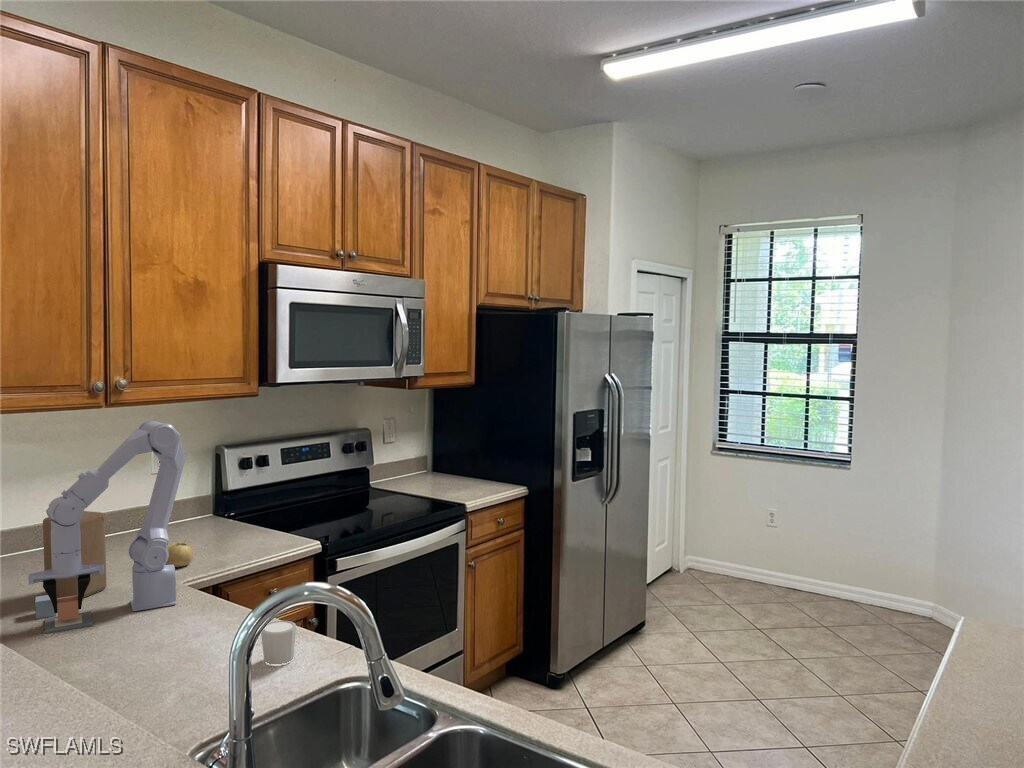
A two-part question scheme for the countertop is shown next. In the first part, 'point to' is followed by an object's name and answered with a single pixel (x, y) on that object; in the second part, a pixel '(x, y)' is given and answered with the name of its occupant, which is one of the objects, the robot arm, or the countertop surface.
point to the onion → (179, 554)
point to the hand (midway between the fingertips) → (68, 609)
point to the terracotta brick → (67, 607)
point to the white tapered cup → (278, 642)
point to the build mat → (68, 623)
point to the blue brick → (44, 607)
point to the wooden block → (90, 554)
